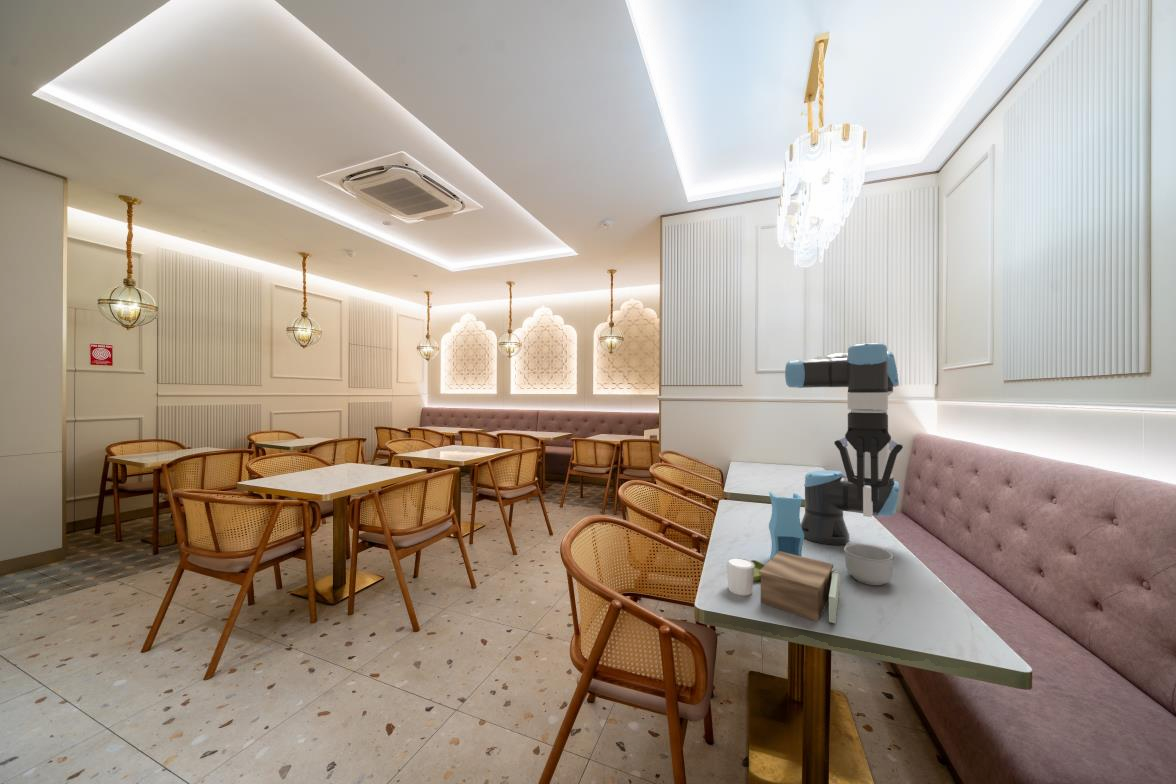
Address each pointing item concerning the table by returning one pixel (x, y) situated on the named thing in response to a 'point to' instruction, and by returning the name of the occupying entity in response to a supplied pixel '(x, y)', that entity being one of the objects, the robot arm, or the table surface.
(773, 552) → the blue tall holder
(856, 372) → the robot arm
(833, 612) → the door
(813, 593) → the wood grain block
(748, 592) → the white short cylinder
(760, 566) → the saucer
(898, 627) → the table surface
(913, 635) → the table surface
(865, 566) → the grey oval bowl
